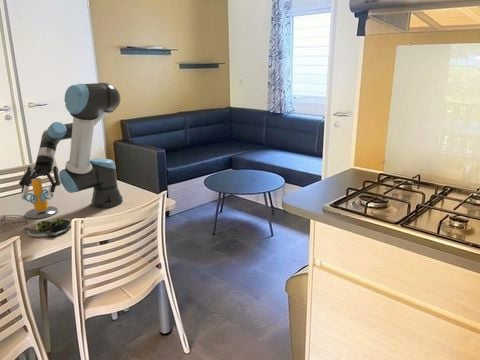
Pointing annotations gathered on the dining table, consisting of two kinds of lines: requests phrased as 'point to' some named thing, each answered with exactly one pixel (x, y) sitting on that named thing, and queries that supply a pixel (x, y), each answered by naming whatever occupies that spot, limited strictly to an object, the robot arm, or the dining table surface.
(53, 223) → the salad plate
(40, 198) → the cylinder
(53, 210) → the base plate
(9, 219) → the dining table surface
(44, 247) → the dining table surface
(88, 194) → the dining table surface
